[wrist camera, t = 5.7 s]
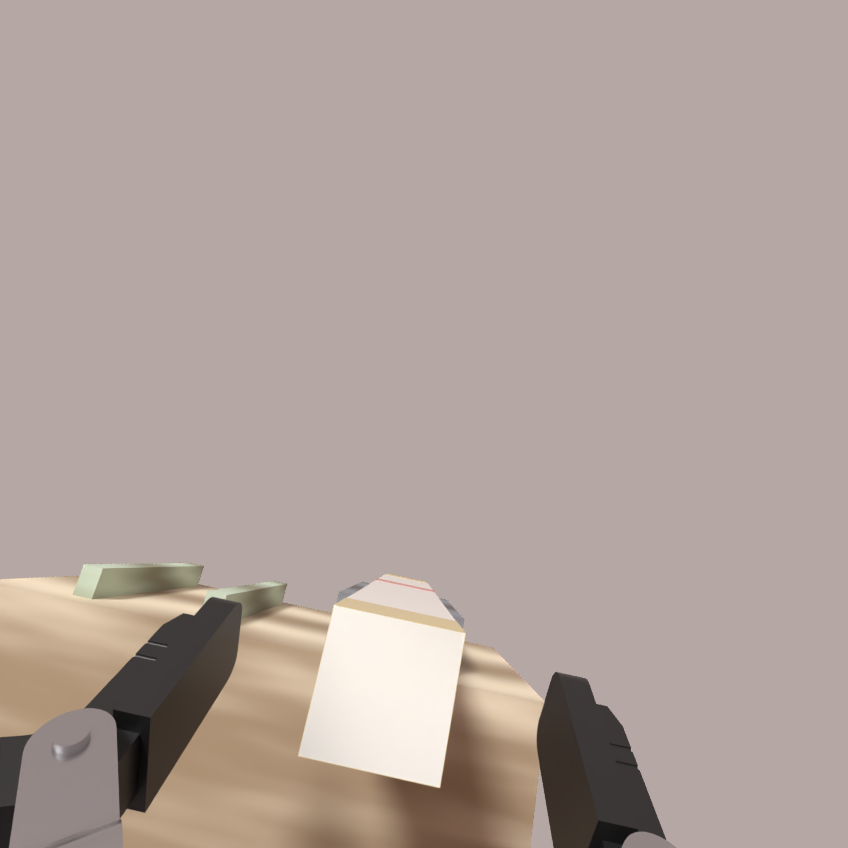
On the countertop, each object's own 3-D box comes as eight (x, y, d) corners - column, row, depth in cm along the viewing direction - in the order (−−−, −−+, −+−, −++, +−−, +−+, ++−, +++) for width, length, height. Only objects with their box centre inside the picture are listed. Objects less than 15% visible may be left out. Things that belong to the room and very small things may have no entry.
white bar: (377, 616, 32) (386, 573, 33) (418, 625, 32) (426, 582, 33) (297, 756, 9) (333, 604, 10) (440, 788, 9) (465, 632, 10)
